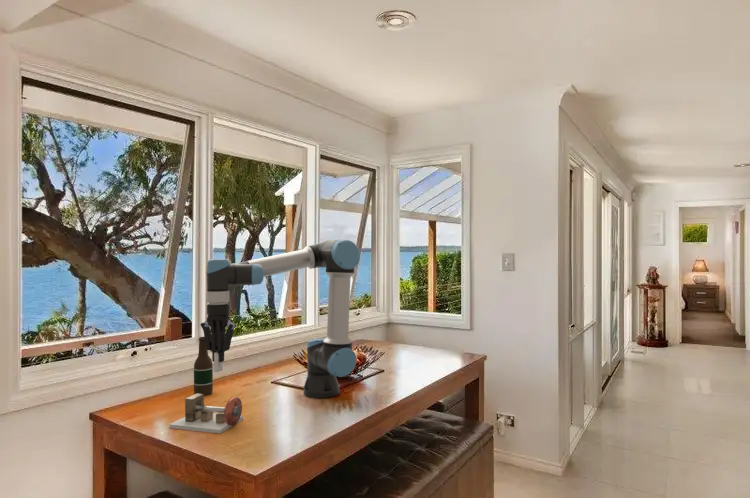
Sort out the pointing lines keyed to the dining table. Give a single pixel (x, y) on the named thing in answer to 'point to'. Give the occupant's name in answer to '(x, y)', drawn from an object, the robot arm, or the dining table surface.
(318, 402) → the dining table surface
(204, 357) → the beer bottle
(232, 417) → the disc-ended rod
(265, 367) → the dining table surface
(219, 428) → the base board
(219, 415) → the eye bracket
